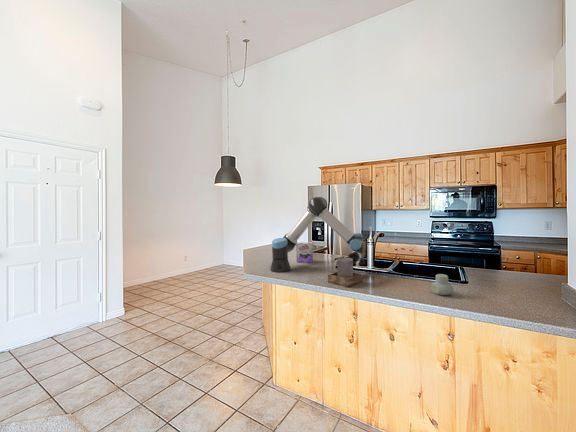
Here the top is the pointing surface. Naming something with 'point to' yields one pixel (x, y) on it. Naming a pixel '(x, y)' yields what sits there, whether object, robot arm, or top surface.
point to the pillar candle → (345, 267)
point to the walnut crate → (345, 279)
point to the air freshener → (442, 285)
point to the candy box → (304, 251)
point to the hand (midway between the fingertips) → (345, 264)
